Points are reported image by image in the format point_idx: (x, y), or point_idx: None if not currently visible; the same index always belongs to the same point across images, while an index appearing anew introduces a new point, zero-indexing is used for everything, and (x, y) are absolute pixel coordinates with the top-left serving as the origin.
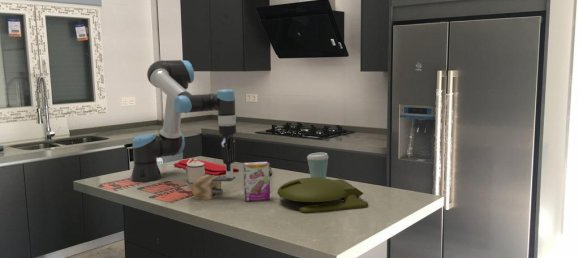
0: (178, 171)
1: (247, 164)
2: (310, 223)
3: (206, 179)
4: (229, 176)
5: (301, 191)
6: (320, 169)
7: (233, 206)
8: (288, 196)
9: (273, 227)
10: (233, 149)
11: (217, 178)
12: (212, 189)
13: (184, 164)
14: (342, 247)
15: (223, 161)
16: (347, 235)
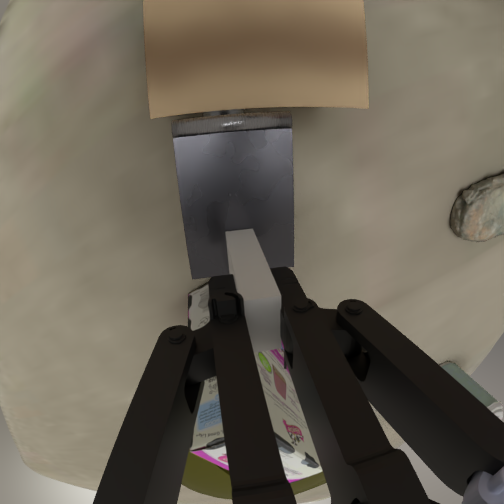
0: None
1: (214, 457)
2: (104, 456)
3: (228, 44)
4: (229, 262)
5: (188, 478)
6: None
7: (109, 277)
8: None
9: (38, 418)
10: (404, 433)
11: (209, 157)
12: None
13: None
14: (52, 477)
15: (157, 346)
16: (92, 482)
